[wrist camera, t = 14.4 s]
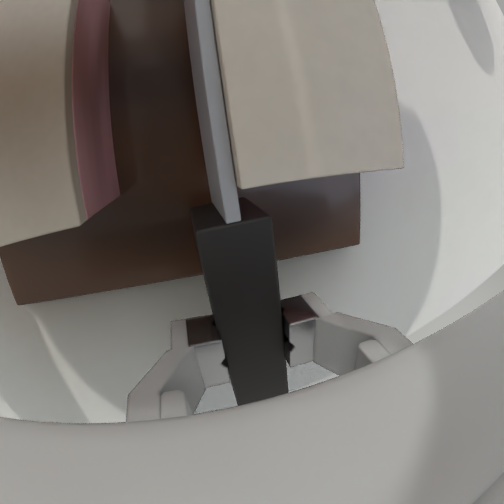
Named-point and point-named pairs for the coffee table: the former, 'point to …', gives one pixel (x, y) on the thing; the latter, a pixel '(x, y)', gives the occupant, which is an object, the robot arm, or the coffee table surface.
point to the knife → (234, 238)
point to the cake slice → (306, 89)
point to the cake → (121, 154)
